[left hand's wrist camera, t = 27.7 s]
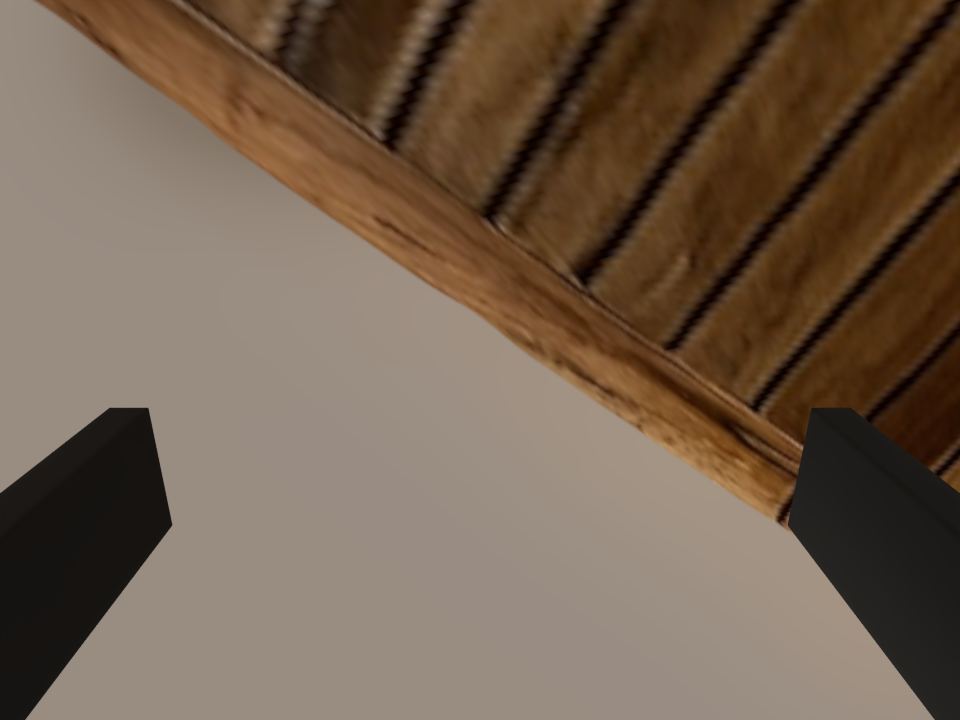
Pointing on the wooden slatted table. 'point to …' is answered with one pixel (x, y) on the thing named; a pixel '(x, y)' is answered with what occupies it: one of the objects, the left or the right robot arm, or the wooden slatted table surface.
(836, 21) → the wooden slatted table surface
